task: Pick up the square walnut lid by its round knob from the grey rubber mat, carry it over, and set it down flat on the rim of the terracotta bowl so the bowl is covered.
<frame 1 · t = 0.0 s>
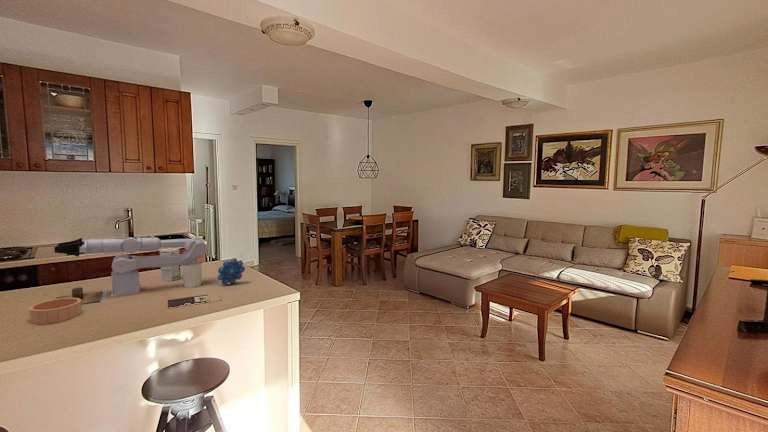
hand: (56, 247, 133), 21 cm above the countertop, tool horizontal, fingers open, 7 cm apart
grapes: (231, 284, 162), on the countertop
chocolate bar: (195, 302, 139), on the countertop
lid: (78, 300, 136), resting on mat
bowl: (56, 316, 121), on the countertop
syrup box: (171, 279, 168), on the countertop
mat: (78, 301, 136), on the countertop
white cup: (192, 286, 159), on the countertop, touching arm
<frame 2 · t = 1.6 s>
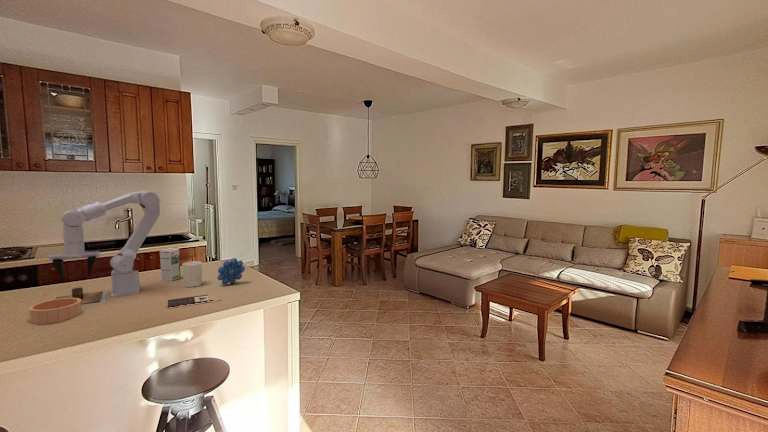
hand: (76, 277, 135), 9 cm above the countertop, tool pointing down, fingers open, 7 cm apart
white cup: (192, 285, 159), on the countertop
everything else where it was.
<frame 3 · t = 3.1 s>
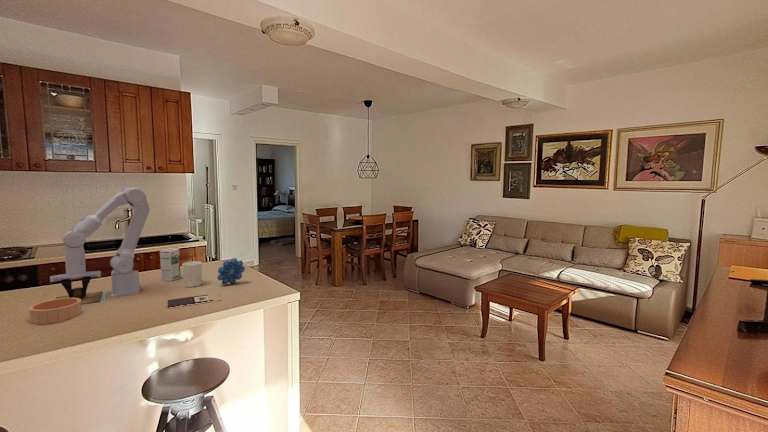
hand: (77, 297, 136), 2 cm above the countertop, tool pointing down, fingers closed on lid, 3 cm apart
lid: (78, 300, 136), resting on mat, touching gripper
everything else where it was.
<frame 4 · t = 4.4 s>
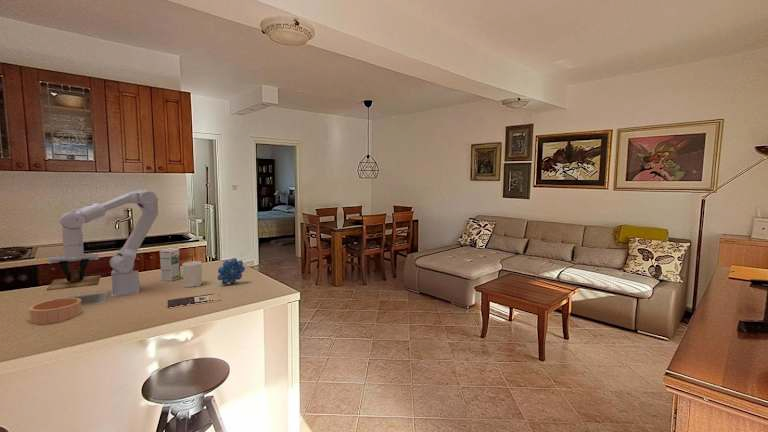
hand: (75, 279, 134), 9 cm above the countertop, tool pointing down, fingers closed on lid, 3 cm apart
lid: (75, 283, 134), point 7 cm above the countertop, touching gripper
everything else where it was.
when the fingers open (7 cm above the countertop, at t = 6.0 s): lid drops 1 cm, resting on bowl.
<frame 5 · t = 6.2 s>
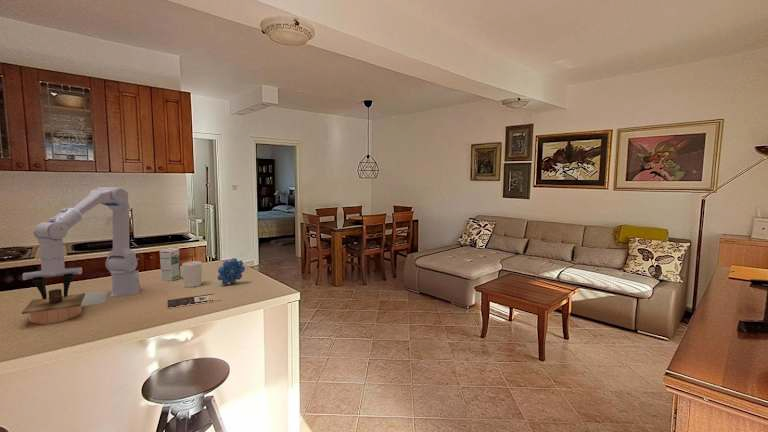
hand: (55, 297, 120), 7 cm above the countertop, tool pointing down, fingers open, 5 cm apart
lid: (56, 303, 120), point 4 cm above the countertop, touching bowl
everything else where it was.
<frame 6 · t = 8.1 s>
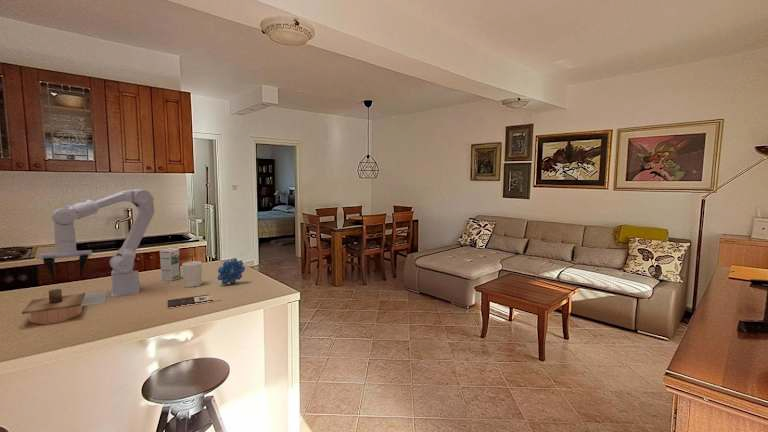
hand: (68, 276, 133), 10 cm above the countertop, tool pointing down, fingers open, 7 cm apart
nothing on the countertop moved.
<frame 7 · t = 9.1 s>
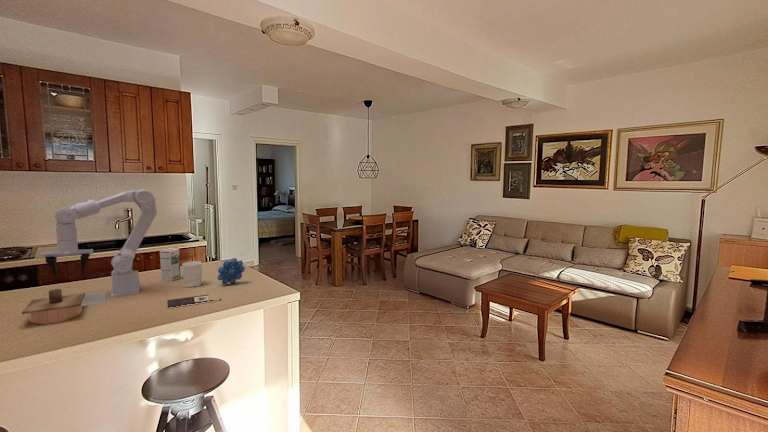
hand: (69, 275, 135), 10 cm above the countertop, tool pointing down, fingers open, 7 cm apart
nothing on the countertop moved.
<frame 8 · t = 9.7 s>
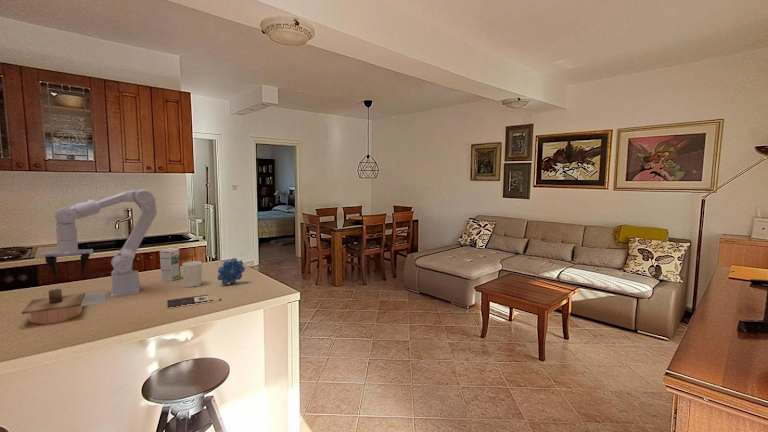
hand: (69, 275, 135), 10 cm above the countertop, tool pointing down, fingers open, 7 cm apart
nothing on the countertop moved.
at the end: lid 0.2 cm from the bowl (horizontally); lid point 4.5 cm above the countertop; lid tilted 0° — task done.
